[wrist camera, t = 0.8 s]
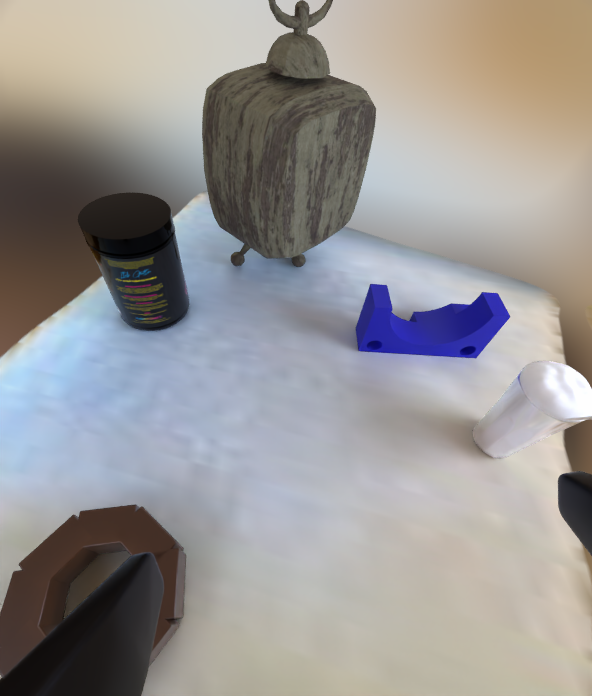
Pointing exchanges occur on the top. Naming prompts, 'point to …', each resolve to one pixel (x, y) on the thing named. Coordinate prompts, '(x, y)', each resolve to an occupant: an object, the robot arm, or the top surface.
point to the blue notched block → (429, 326)
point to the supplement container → (138, 258)
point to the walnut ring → (70, 560)
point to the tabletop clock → (286, 145)
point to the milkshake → (534, 408)
